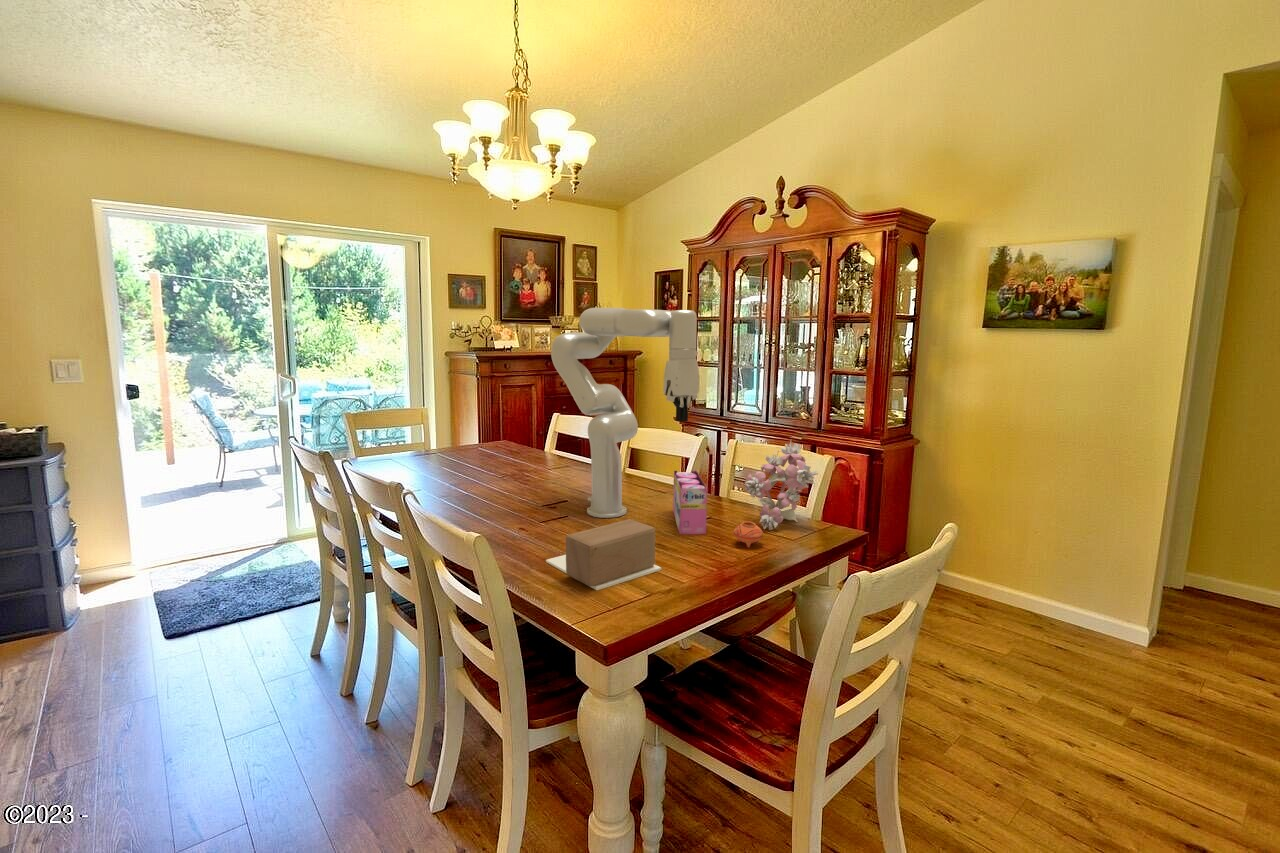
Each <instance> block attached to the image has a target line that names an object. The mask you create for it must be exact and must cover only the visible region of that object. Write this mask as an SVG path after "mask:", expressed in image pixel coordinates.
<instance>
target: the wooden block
mask: <svg viewBox="0 0 1280 853" xmlns="http://www.w3.org/2000/svg"><path fill="white" fill-rule="evenodd" d="M565 555H566V572H567V574H566V575H567V576H569V577H570V578H572V579H574V580H576V581H578V582H580V583H582V584H584V585H586V586H588V587H590V586H594V585H597V584H600V583H603V582H606V581H609V580H612V579H615V578H618V577H621V576H624V575H627V574H630V573H633V572H636V571H639V570H642V569H645V568H648V567H651V566H653V565H654V564H655V565H656V530H655V527H653V526H651V525H649V524H645V523H642V522H640V521H636V520H634V519H631V518H629V519H628V518H627V519H625V520H620V521H617V522H612V523H609V524H604V525H601V526H597V527H592V528H590V529H586V530H581V531H578V532H577V531H576V532H573V533H569V534H567V535H566V536H565Z"/></svg>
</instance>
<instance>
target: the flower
mask: <svg viewBox="0 0 1280 853" xmlns="http://www.w3.org/2000/svg"><path fill="white" fill-rule="evenodd" d="M789 440H790V442H789V443H784V445H785V446H782V447H781V448H780V450H781V453H782V454H784V455H782V456H779V457H778V454H779V452H780V451H779V450H777V454H773V453H772V456H771V457H770V455H769V454H767V455H766V458H765V461H766V462H767V463H764V464H762V465H761V466H760V470H761V471H756V472H755V475H754V476H753V475H752V473H750V474H748V475H747V476H746V478H745V482H744V484H745V489H744V491H745V492H746V493H748V494H749V495H750V497H752V498H755V497H756V498H757V500H758V501H759V503H760V504H761V505H762V507H761V510H759V516H760V520H759V524H760V523H761V525H760V526H761V527H762V529H764V530H765V529H767V528H768V531H773V529H776V528H777V527H778V524H781V523H783V520H784V519H785V520H787V521H795V522H796V523H799V521H798V519H797V516H796V515H797V513H796V512H795V510H796V509H797V508H798V506H797V505H798V503H797V502H798V501H800V498H801V497H800V496H801V494H800V491H801V490H804V489H805V488H806V489H807V488H809V485H808V484H811V485H814V484H815V482H814V481H813V480H814V478H815V476H817V475H819V473H818V471H817V470H816V469H815V470H813V471H811V470H810V469H811V468H812V466H810V465H808V464H806V458H805V457H804V456H802V455H801V454H799V453H801V446H800V445H799V444H797V443H796V442H795V443H794V442H793V443H792V439H789ZM787 462H788V463H787ZM786 463H787V466H786ZM785 466H786V468H785V470H784V469H783V468H784V467H785ZM781 467H783V468H781ZM763 471H764V472H763ZM765 473H767V474H769V476H768V477H769V478H767V479H766V474H765ZM765 479H766V480H765ZM777 482H781V483H782V485H781V487H780V491H779V494H778V495H777V501H776V502H775V501H774V500H773V498H772V496H771V493H770V491H771V489H772V488H773V487H774V486H775V485H776V484H777ZM786 487H788V488H787V490H786V491H785V489H786ZM765 492H766V493H765ZM790 505H791V508H789V509H785V508H788V507H790ZM783 509H785V510H783ZM770 510H771V511H770ZM773 527H774V528H773Z"/></svg>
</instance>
